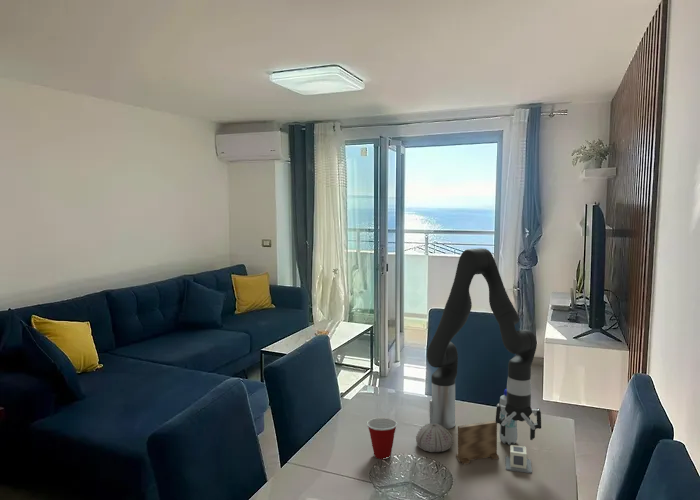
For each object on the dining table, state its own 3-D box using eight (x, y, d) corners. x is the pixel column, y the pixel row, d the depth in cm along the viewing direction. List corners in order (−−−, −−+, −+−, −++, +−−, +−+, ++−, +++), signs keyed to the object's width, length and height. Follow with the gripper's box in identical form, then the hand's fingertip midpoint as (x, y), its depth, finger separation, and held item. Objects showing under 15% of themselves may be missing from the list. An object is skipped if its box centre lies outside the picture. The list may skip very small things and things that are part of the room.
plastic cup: (398, 447, 173) (397, 415, 172) (397, 463, 162) (397, 429, 161) (368, 446, 174) (367, 415, 173) (365, 462, 163) (365, 428, 162)
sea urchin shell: (409, 449, 172) (409, 428, 171) (425, 434, 183) (425, 414, 182) (443, 459, 164) (443, 437, 164) (458, 443, 176) (458, 422, 175)
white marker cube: (510, 458, 163) (510, 444, 162) (525, 461, 161) (525, 446, 161) (510, 466, 158) (510, 451, 157) (526, 468, 156) (526, 454, 156)
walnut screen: (462, 464, 161) (462, 430, 160) (455, 457, 166) (455, 423, 165) (499, 458, 164) (499, 424, 163) (491, 451, 169) (491, 418, 168)
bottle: (519, 447, 172) (519, 393, 170) (499, 445, 173) (500, 391, 171) (516, 438, 178) (517, 386, 176) (497, 436, 179) (498, 385, 178)
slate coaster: (505, 469, 157) (505, 468, 157) (505, 457, 165) (505, 456, 164) (531, 473, 154) (531, 471, 154) (530, 460, 162) (530, 459, 162)
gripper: (496, 392, 156) (495, 439, 158) (543, 397, 152) (541, 445, 153) (496, 383, 163) (495, 429, 165) (541, 388, 159) (539, 435, 160)
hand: (517, 437), depth 159 cm, fingers open, 8 cm apart
